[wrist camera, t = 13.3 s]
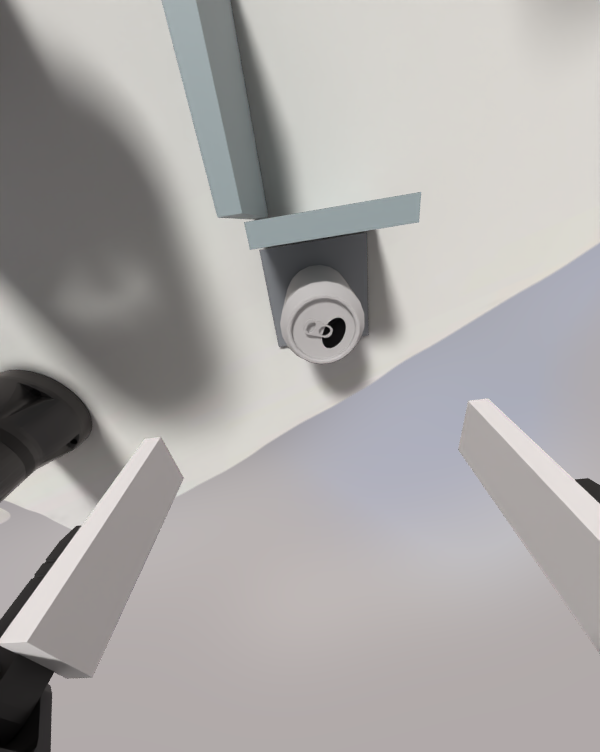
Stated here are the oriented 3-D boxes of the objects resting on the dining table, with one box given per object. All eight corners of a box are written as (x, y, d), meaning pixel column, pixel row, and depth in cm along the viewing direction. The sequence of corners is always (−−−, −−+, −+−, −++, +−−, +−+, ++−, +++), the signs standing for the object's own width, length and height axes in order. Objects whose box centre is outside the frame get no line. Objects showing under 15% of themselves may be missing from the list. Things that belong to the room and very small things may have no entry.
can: (333, 333, 35) (345, 381, 24) (278, 314, 34) (267, 356, 23) (358, 277, 31) (385, 305, 21) (298, 253, 30) (295, 271, 20)
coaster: (279, 344, 36) (278, 346, 36) (260, 249, 30) (259, 249, 30) (367, 333, 35) (368, 335, 35) (365, 232, 29) (366, 232, 29)
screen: (258, 240, 30) (227, 253, 18) (199, -55, 20) (37, -480, 8) (371, 222, 29) (418, 222, 17) (368, -100, 19) (480, -672, 7)
